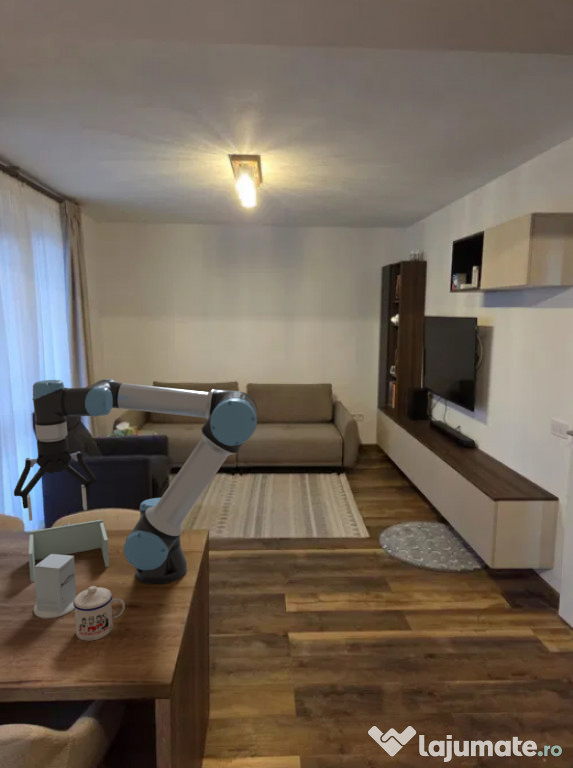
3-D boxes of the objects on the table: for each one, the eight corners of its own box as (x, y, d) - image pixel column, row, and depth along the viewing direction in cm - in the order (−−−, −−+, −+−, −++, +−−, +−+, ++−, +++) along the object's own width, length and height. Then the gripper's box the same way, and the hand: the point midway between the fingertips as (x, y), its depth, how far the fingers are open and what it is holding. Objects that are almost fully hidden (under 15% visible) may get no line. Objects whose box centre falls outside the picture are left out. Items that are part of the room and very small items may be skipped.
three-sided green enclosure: (31, 559, 161) (29, 531, 160) (103, 545, 171) (102, 519, 169) (30, 582, 148) (28, 552, 146) (109, 566, 157) (107, 537, 156)
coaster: (86, 596, 140) (86, 594, 140) (62, 620, 130) (62, 618, 130) (50, 592, 142) (50, 590, 142) (24, 616, 131) (24, 613, 131)
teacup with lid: (75, 646, 120) (72, 601, 118) (75, 624, 128) (72, 582, 127) (127, 633, 125) (125, 590, 123) (123, 613, 133) (122, 572, 131)
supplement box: (61, 613, 132) (58, 568, 130) (35, 610, 133) (32, 566, 131) (77, 597, 139) (74, 555, 137) (53, 595, 140) (50, 552, 138)
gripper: (99, 429, 142) (104, 500, 146) (-2, 441, 131) (6, 518, 134) (103, 435, 136) (108, 509, 139) (-2, 448, 124) (6, 528, 127)
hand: (58, 513), depth 136 cm, fingers open, 13 cm apart
